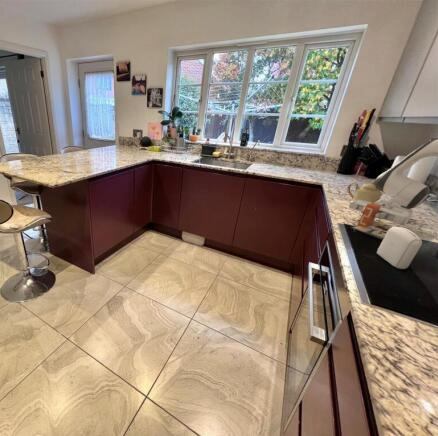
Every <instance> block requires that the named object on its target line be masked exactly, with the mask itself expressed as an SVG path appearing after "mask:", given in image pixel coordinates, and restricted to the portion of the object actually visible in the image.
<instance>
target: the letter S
mask: <svg viewBox="0 0 438 436" xmlns="http://www.w3.org/2000/svg"><path fill="white" fill-rule="evenodd" d="M380 207H381V205H379V204H375V203H371V204H367V206H366V208H365V210H364V212H363V213H361V216H360V218H359V219H358V220H359V221H357V224H356V225H358V226H361V227H364V228H366V227H368V228H370V227H372V226H371V225H372V223H373V221H375V219H376V218H375V217H373V214H374V213H378V211H379V209H380Z"/></svg>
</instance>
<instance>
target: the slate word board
mask: <svg viewBox="0 0 438 436" xmlns="http://www.w3.org/2000/svg"><path fill="white" fill-rule="evenodd" d="M350 228H351V229H354V230H356V231H359V232H361V233H364V234H367V235H370V236H372V237H374V238H377V239H379V240H382V241H383V239H384V237H385V235H386V233H387V232H386V233H385V232H383V231H381V230H377V229H375V228H374V229H373V228H371V227H366V228H364V227H361V226H358V225H357V224H356V225H353V226H351V227H350Z"/></svg>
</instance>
